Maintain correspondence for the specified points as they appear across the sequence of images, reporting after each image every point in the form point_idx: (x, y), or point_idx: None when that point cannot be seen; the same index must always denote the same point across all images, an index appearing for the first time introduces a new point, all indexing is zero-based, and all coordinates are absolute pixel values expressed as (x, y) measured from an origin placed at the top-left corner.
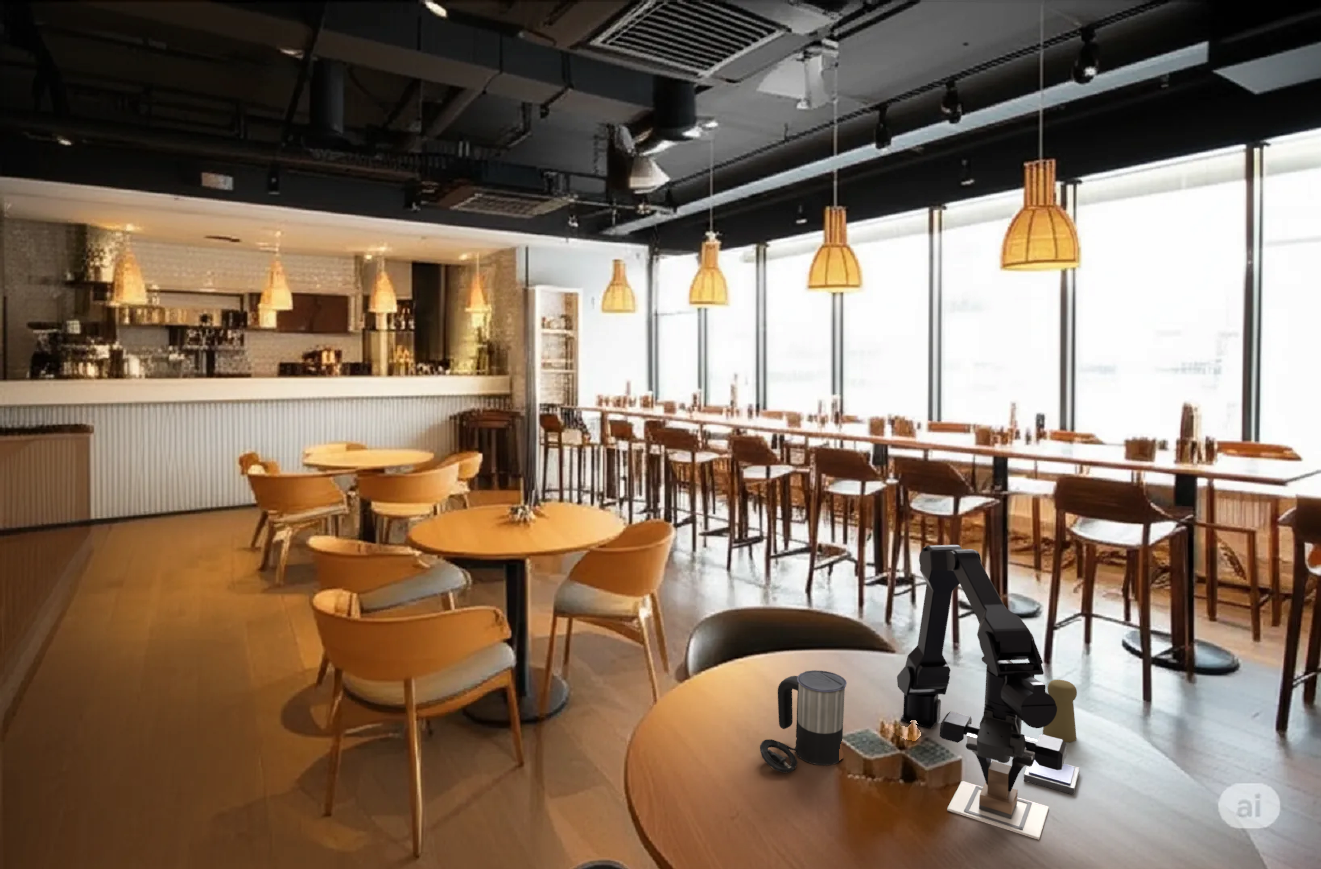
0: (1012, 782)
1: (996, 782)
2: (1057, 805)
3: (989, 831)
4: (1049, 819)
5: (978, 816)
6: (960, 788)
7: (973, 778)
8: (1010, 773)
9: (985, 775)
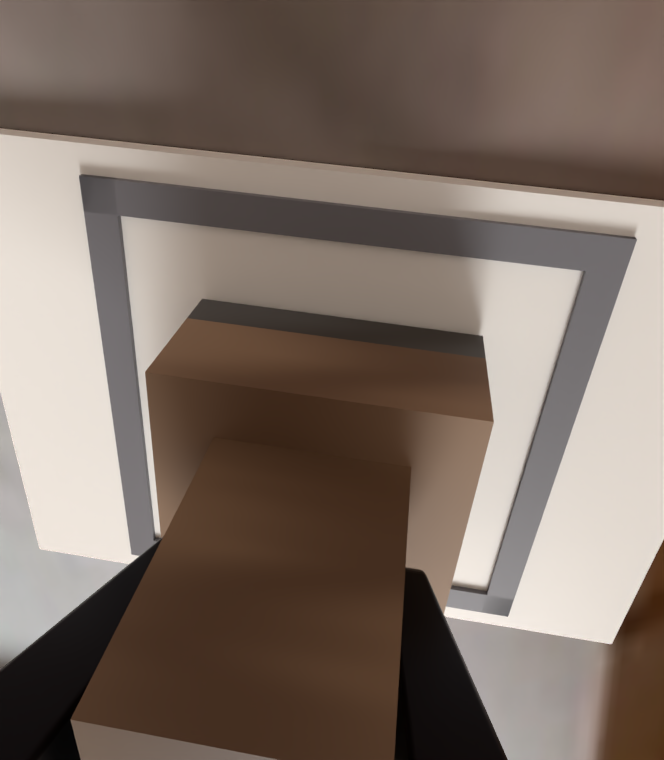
0: (94, 614)
1: (292, 579)
2: (22, 580)
3: (362, 19)
4: (2, 434)
5: (483, 217)
6: (631, 560)
7: (521, 683)
8: (42, 738)
9: (441, 664)
